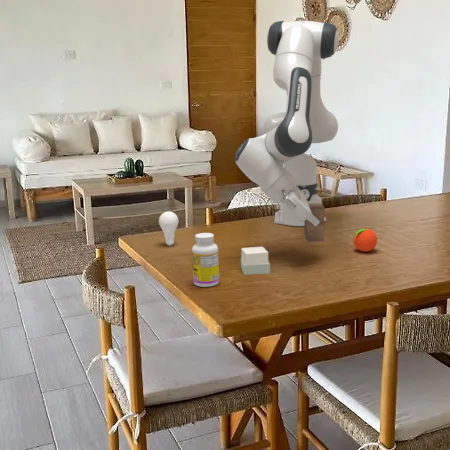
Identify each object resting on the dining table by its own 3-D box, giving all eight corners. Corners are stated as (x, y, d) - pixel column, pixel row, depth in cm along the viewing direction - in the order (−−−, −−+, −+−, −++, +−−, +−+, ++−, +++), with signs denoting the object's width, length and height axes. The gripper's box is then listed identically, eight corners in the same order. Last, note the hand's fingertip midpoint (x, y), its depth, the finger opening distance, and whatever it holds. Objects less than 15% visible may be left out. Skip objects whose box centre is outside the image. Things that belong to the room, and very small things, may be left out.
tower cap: (241, 258, 163) (241, 248, 163) (262, 256, 164) (262, 246, 164) (246, 264, 157) (246, 254, 157) (268, 263, 159) (268, 252, 158)
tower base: (240, 268, 165) (240, 257, 164) (265, 266, 165) (265, 256, 165) (244, 276, 158) (243, 265, 157) (270, 274, 159) (269, 263, 158)
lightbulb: (183, 243, 189) (181, 210, 187) (173, 249, 184) (171, 214, 181) (166, 242, 192) (164, 209, 189) (156, 247, 186) (154, 213, 184)
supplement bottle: (192, 279, 155) (190, 232, 152) (218, 278, 155) (216, 231, 152) (193, 288, 148) (191, 239, 145) (220, 287, 149) (218, 237, 146)
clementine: (362, 256, 171) (362, 232, 169) (345, 251, 176) (345, 228, 175) (381, 251, 175) (382, 228, 173) (364, 246, 180) (365, 224, 179)
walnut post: (304, 237, 170) (304, 203, 168) (319, 236, 171) (320, 203, 168) (308, 242, 166) (308, 207, 163) (323, 241, 166) (324, 206, 164)
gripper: (292, 186, 154) (329, 222, 156) (287, 173, 174) (320, 205, 176) (274, 203, 156) (312, 239, 158) (272, 188, 175) (305, 219, 177)
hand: (316, 221), depth 167 cm, fingers closed on walnut post, 5 cm apart
